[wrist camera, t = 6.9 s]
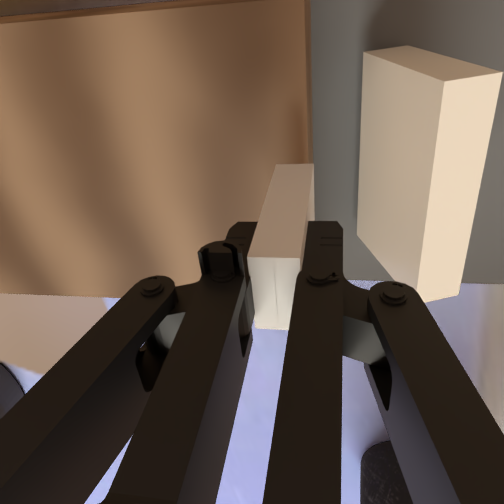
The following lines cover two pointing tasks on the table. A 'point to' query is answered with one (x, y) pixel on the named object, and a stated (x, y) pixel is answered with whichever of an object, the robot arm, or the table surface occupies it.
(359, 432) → the table surface
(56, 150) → the wooden block
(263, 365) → the table surface
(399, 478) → the travel mug
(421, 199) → the tile
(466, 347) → the table surface
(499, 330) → the table surface
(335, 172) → the mat
